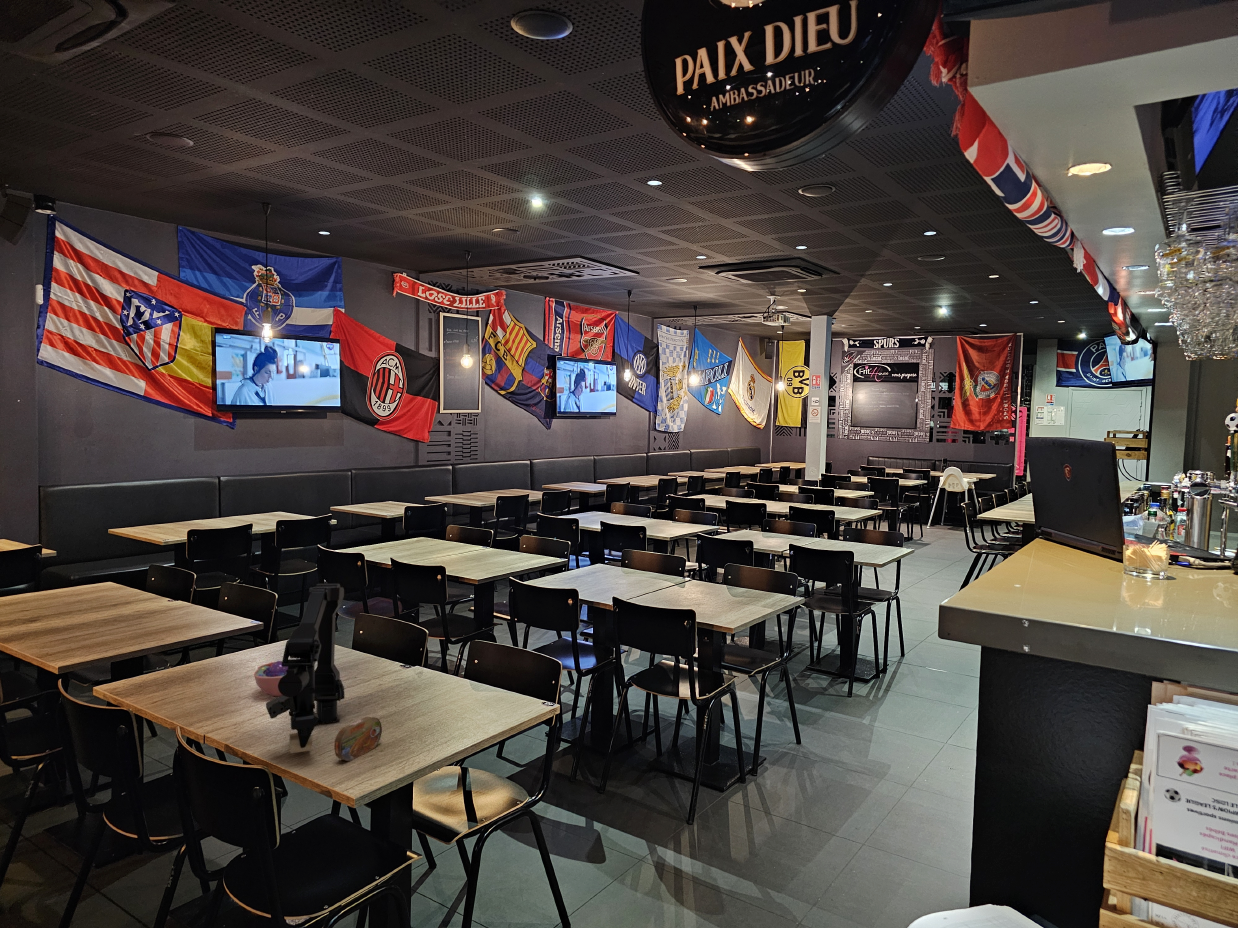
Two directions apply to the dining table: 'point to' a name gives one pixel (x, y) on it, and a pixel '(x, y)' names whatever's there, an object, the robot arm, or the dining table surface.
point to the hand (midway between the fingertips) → (302, 743)
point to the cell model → (270, 677)
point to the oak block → (298, 744)
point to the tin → (358, 738)
